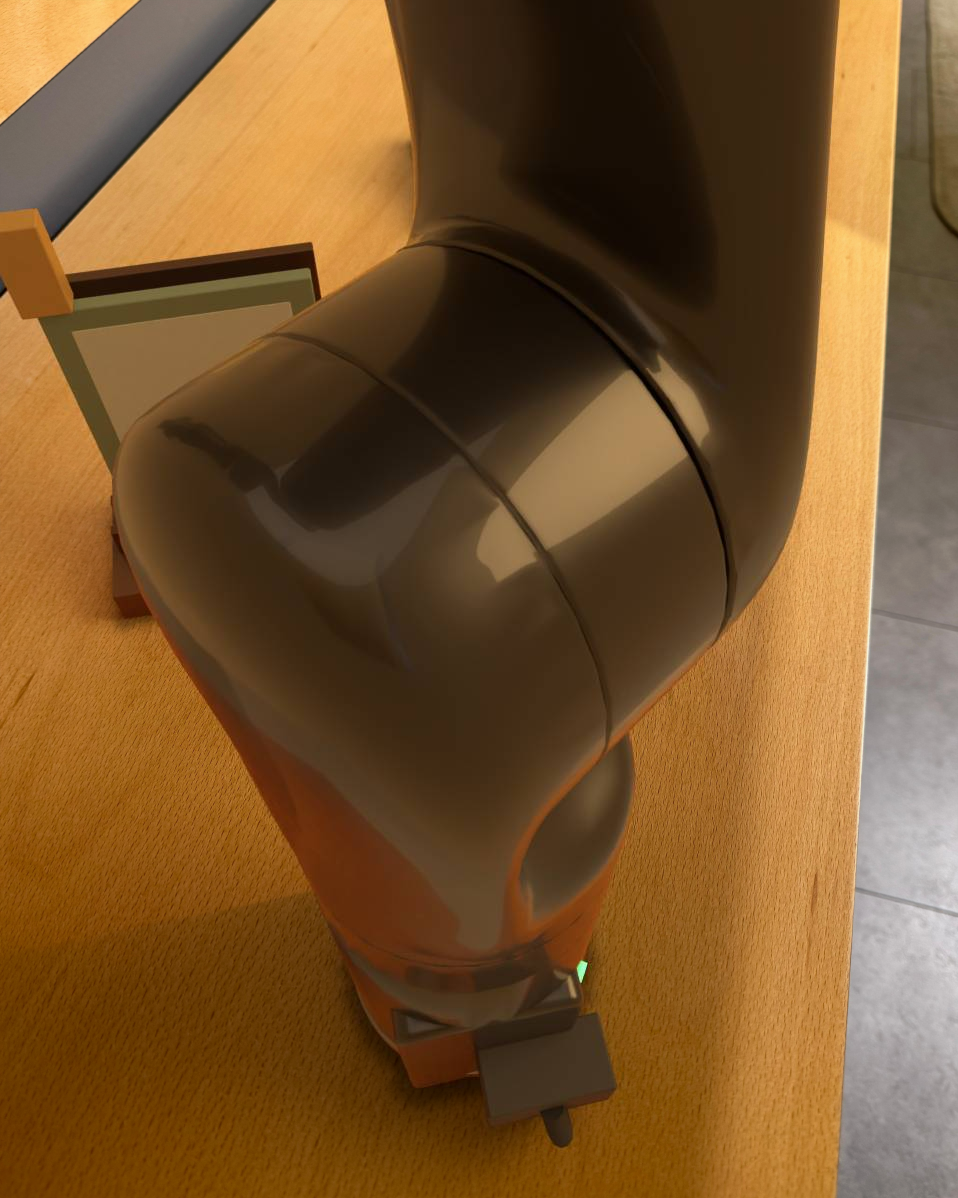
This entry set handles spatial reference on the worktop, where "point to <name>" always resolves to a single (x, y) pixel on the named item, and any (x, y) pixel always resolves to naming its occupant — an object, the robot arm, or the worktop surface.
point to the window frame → (176, 275)
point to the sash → (137, 327)
